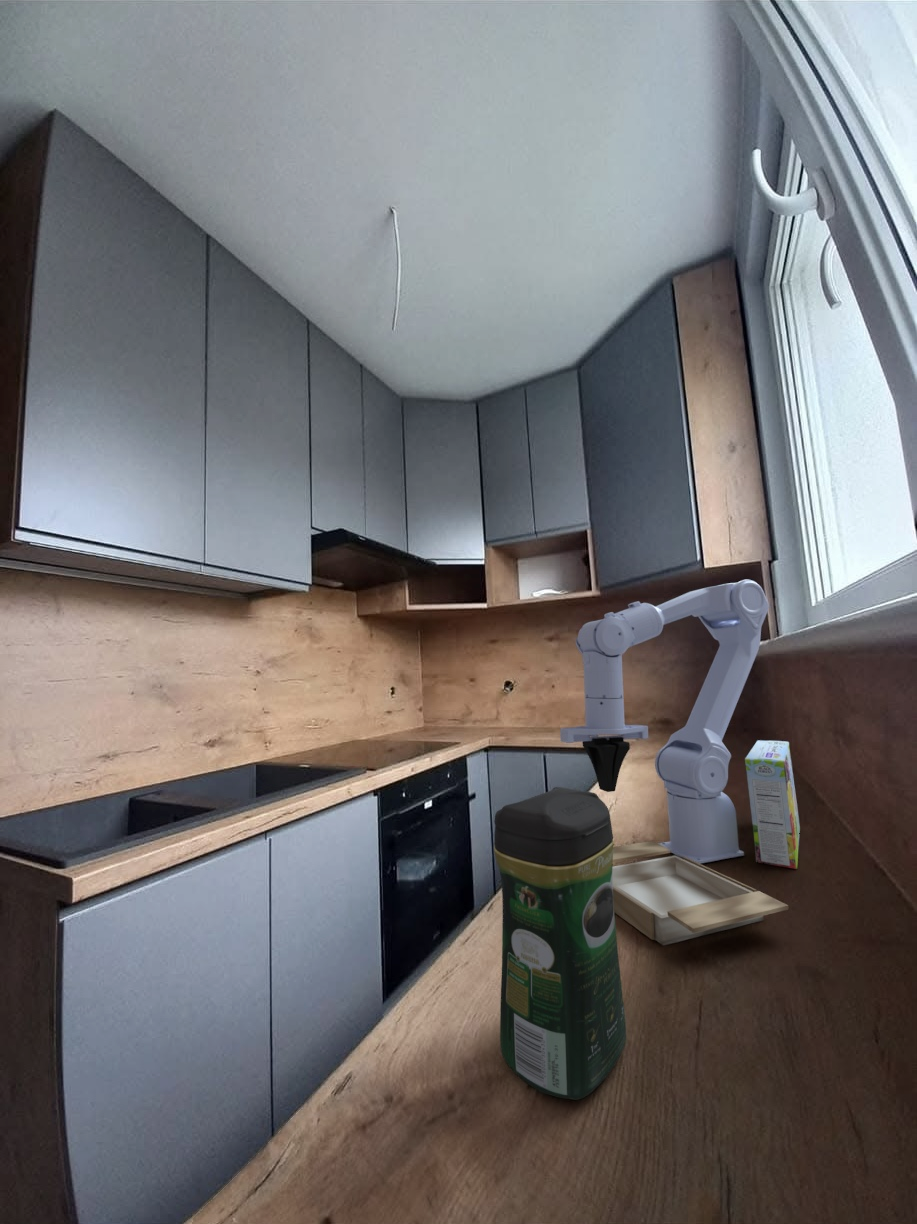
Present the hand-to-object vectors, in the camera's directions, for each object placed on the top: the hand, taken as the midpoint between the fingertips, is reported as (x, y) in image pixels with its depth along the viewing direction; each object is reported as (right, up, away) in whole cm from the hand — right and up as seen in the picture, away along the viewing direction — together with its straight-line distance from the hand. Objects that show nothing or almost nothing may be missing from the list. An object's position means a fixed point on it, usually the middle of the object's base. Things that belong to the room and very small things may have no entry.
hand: (607, 790), depth 72 cm
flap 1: (+1, -6, -8) cm, 10 cm away
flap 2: (+5, -5, -20) cm, 21 cm away
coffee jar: (-14, -6, -36) cm, 39 cm away
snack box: (+29, -11, +5) cm, 32 cm away
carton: (+3, -9, -14) cm, 17 cm away
